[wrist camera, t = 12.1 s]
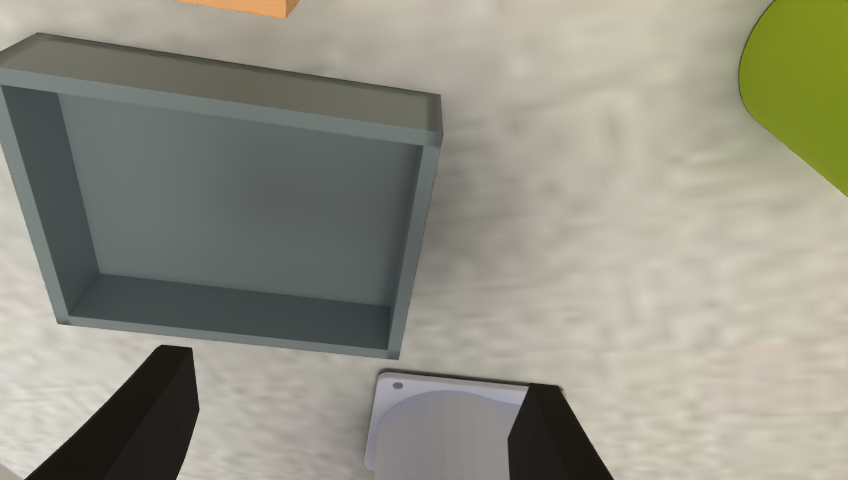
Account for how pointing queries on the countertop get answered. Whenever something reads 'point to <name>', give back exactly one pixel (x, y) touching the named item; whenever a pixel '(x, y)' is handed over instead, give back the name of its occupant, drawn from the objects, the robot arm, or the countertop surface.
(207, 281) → the bin
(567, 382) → the countertop surface
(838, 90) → the soap dispenser
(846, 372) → the countertop surface
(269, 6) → the letter cube
